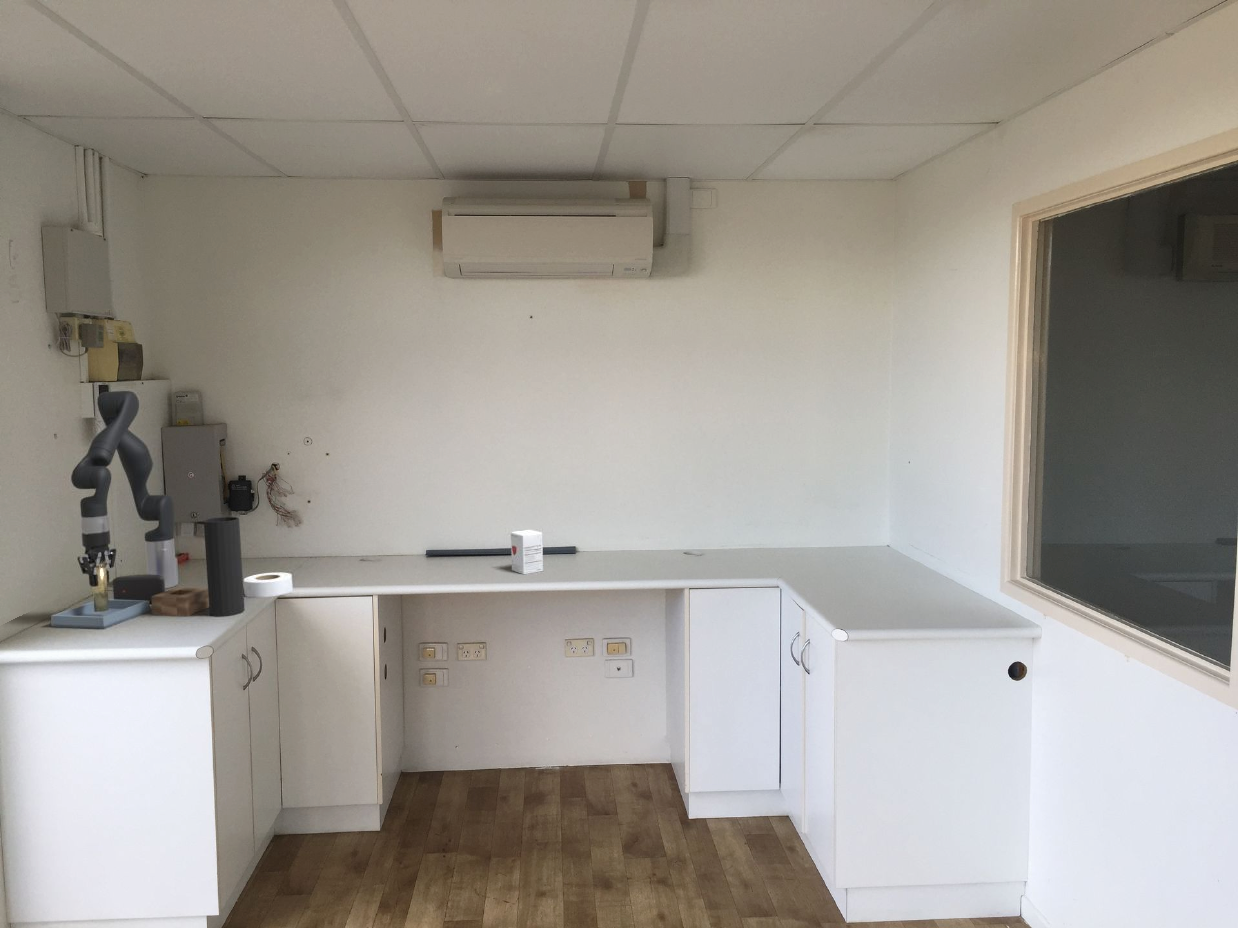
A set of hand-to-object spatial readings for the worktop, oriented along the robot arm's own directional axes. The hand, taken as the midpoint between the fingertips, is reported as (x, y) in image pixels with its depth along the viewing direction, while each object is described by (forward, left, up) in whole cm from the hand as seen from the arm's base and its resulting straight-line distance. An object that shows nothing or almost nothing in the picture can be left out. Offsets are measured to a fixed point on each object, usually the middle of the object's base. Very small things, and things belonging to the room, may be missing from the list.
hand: (99, 584), depth 275 cm
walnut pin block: (-12, +19, -11) cm, 25 cm away
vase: (-12, +35, -11) cm, 39 cm away
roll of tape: (-38, +33, -12) cm, 52 cm away
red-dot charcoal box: (-18, -1, -11) cm, 21 cm away
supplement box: (-80, +115, -11) cm, 141 cm away
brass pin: (0, 0, -8) cm, 8 cm away
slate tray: (0, 0, -11) cm, 11 cm away
